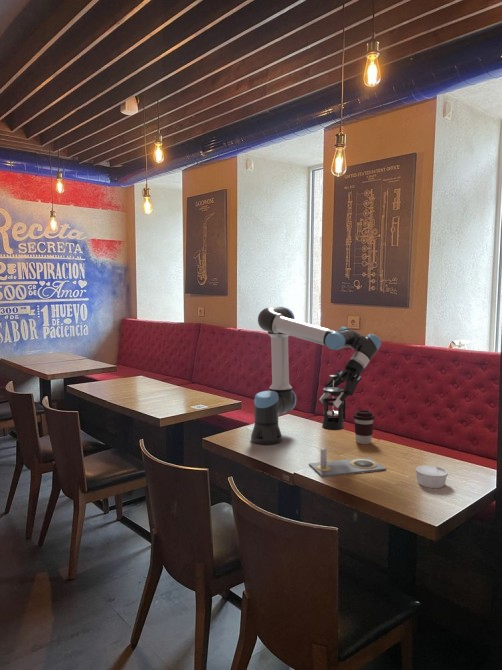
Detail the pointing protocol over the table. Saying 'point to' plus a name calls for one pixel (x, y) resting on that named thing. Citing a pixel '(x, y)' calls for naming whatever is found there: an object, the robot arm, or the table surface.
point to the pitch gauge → (344, 466)
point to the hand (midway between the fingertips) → (328, 403)
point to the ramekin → (431, 476)
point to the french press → (332, 421)
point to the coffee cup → (363, 426)
